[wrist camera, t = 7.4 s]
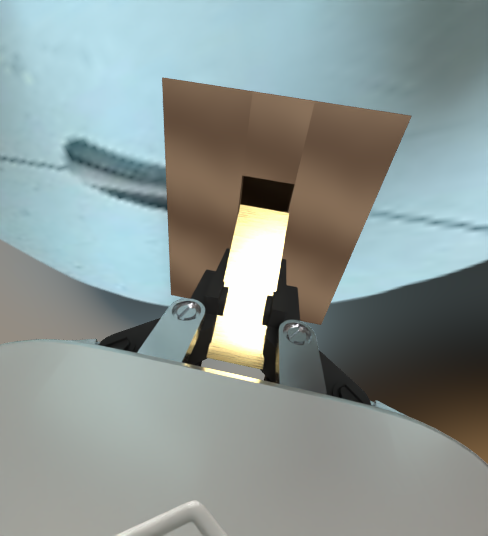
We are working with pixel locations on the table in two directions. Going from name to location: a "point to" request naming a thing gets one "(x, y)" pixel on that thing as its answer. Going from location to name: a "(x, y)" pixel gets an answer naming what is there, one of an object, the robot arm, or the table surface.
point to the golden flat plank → (249, 286)
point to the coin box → (271, 180)
